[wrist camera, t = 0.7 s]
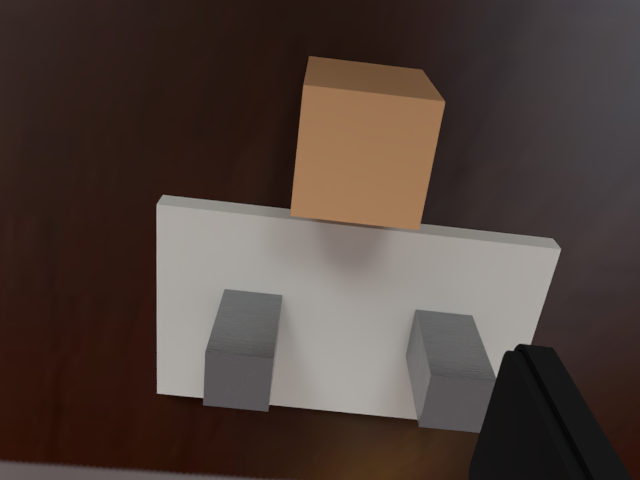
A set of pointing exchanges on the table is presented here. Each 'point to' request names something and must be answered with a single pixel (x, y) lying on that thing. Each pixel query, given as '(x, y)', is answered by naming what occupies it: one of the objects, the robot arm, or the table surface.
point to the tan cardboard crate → (365, 143)
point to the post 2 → (449, 371)
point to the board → (337, 296)
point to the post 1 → (242, 351)
